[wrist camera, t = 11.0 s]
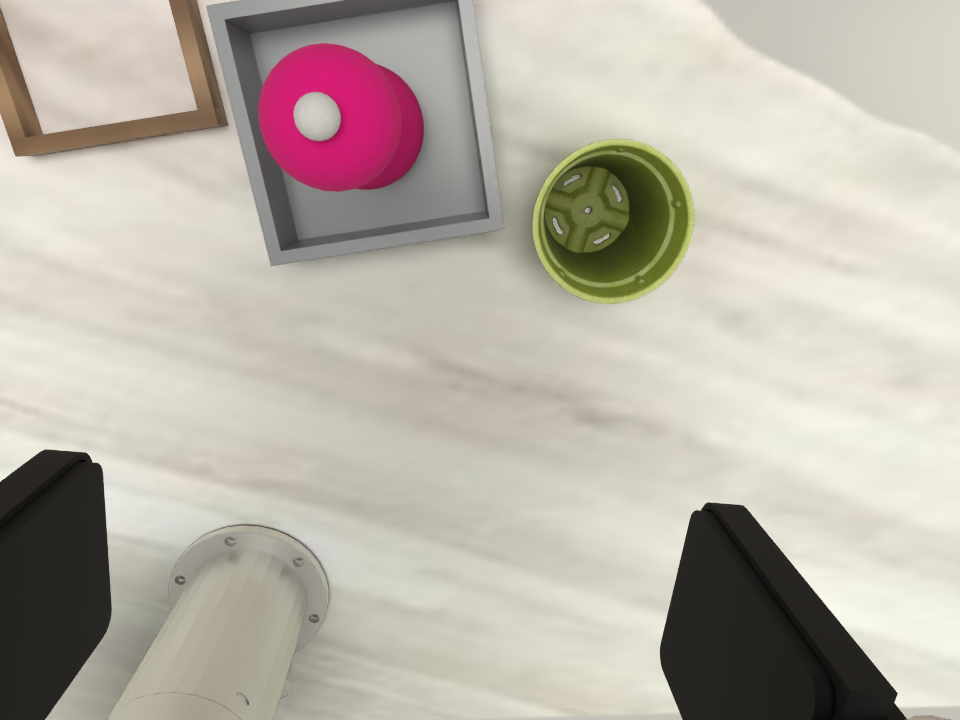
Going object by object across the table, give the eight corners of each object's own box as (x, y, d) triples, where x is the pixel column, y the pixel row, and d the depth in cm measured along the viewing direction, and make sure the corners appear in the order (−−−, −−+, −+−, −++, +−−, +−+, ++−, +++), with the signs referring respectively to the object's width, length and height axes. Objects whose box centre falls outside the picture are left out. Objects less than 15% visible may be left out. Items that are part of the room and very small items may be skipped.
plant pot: (559, 300, 49) (581, 332, 41) (493, 186, 46) (503, 195, 38) (673, 233, 48) (720, 252, 39) (613, 112, 45) (650, 105, 37)
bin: (497, 219, 47) (504, 229, 41) (292, 251, 47) (271, 266, 41) (465, -13, 42) (467, -37, 37) (237, 23, 42) (206, 5, 37)
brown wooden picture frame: (228, 125, 44) (218, 124, 42) (34, 155, 44) (15, 156, 42) (170, -102, 40) (156, -114, 38) (-43, -68, 40) (-67, -78, 38)
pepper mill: (430, 182, 45) (419, 208, 26) (323, 189, 45) (232, 221, 26) (420, 65, 43) (400, 1, 24) (307, 72, 43) (196, 13, 24)
